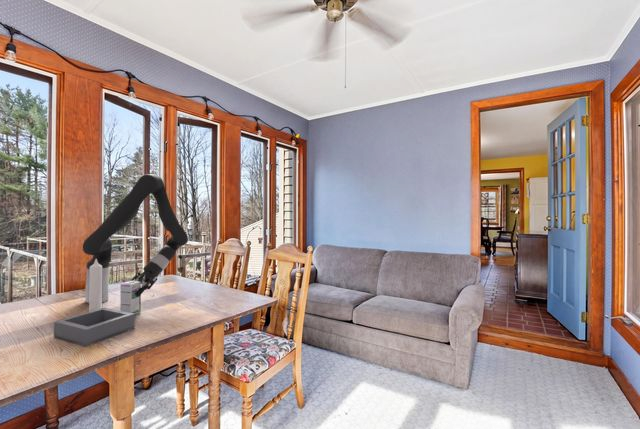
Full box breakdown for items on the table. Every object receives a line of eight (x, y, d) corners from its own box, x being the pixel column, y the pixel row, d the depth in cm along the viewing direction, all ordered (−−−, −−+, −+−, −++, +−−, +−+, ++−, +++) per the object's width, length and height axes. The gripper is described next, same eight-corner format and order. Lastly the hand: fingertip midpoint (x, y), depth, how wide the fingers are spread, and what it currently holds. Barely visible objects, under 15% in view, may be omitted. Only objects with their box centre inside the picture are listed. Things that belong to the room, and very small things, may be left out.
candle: (108, 313, 139) (109, 258, 138) (92, 318, 132) (93, 260, 132) (97, 311, 141) (98, 257, 141) (81, 315, 134) (82, 259, 134)
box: (53, 337, 112) (54, 321, 112) (104, 321, 128) (104, 307, 128) (85, 346, 105) (86, 329, 105) (134, 328, 122) (134, 313, 122)
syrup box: (130, 316, 135) (131, 284, 135) (119, 315, 136) (120, 283, 136) (140, 312, 140) (141, 281, 140) (130, 311, 142) (130, 280, 141)
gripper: (143, 259, 149) (117, 287, 140) (159, 262, 142) (133, 292, 132) (153, 268, 154) (129, 296, 144) (170, 271, 147) (146, 301, 137)
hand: (131, 294), depth 138 cm, fingers open, 8 cm apart
